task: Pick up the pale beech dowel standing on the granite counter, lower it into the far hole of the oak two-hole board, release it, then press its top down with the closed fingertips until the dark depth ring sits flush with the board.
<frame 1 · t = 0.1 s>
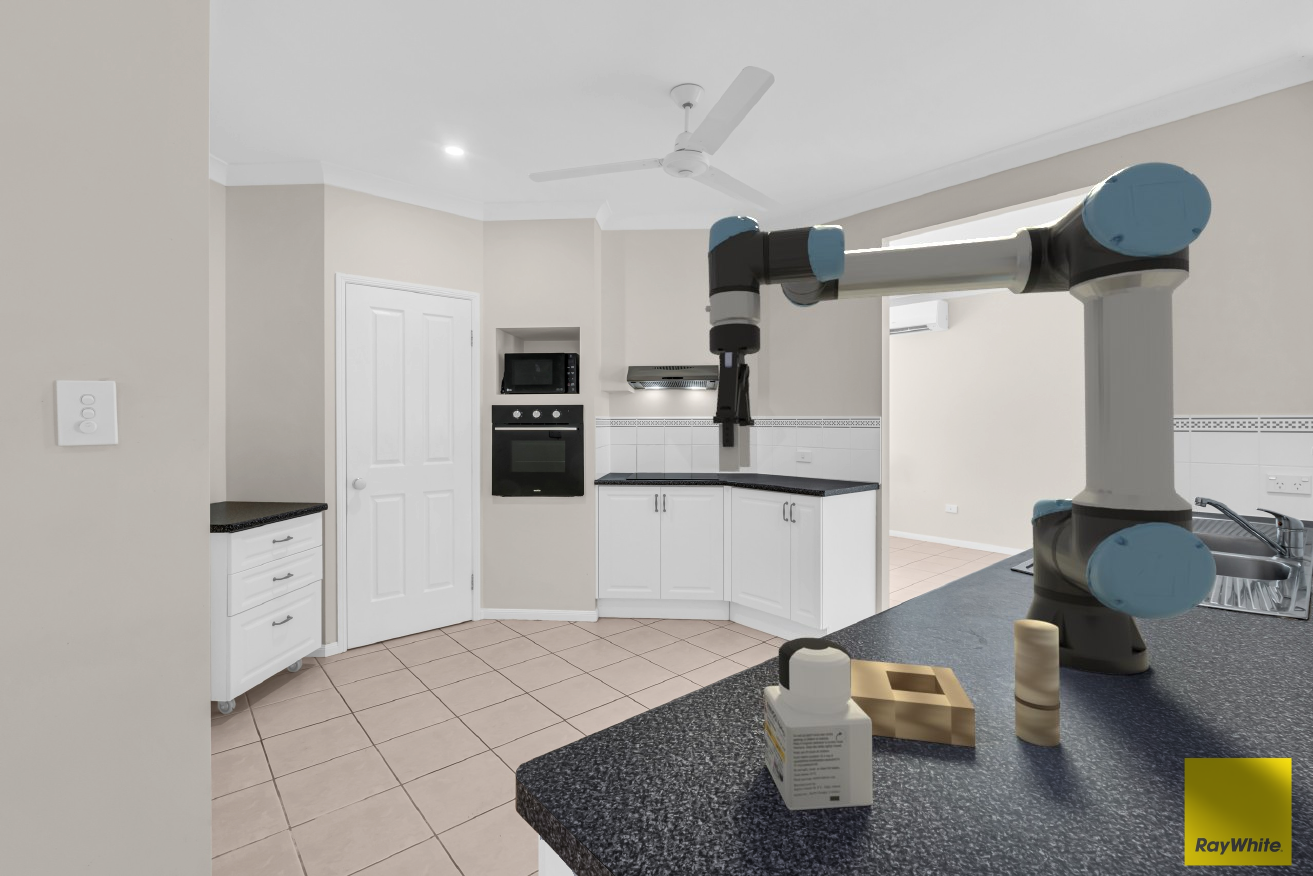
hand: (735, 469, 85), 28 cm above the countertop, fingers open, 13 cm apart
peg: (1037, 736, 62), on the countertop
container: (815, 785, 54), on the countertop
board: (868, 711, 68), on the countertop
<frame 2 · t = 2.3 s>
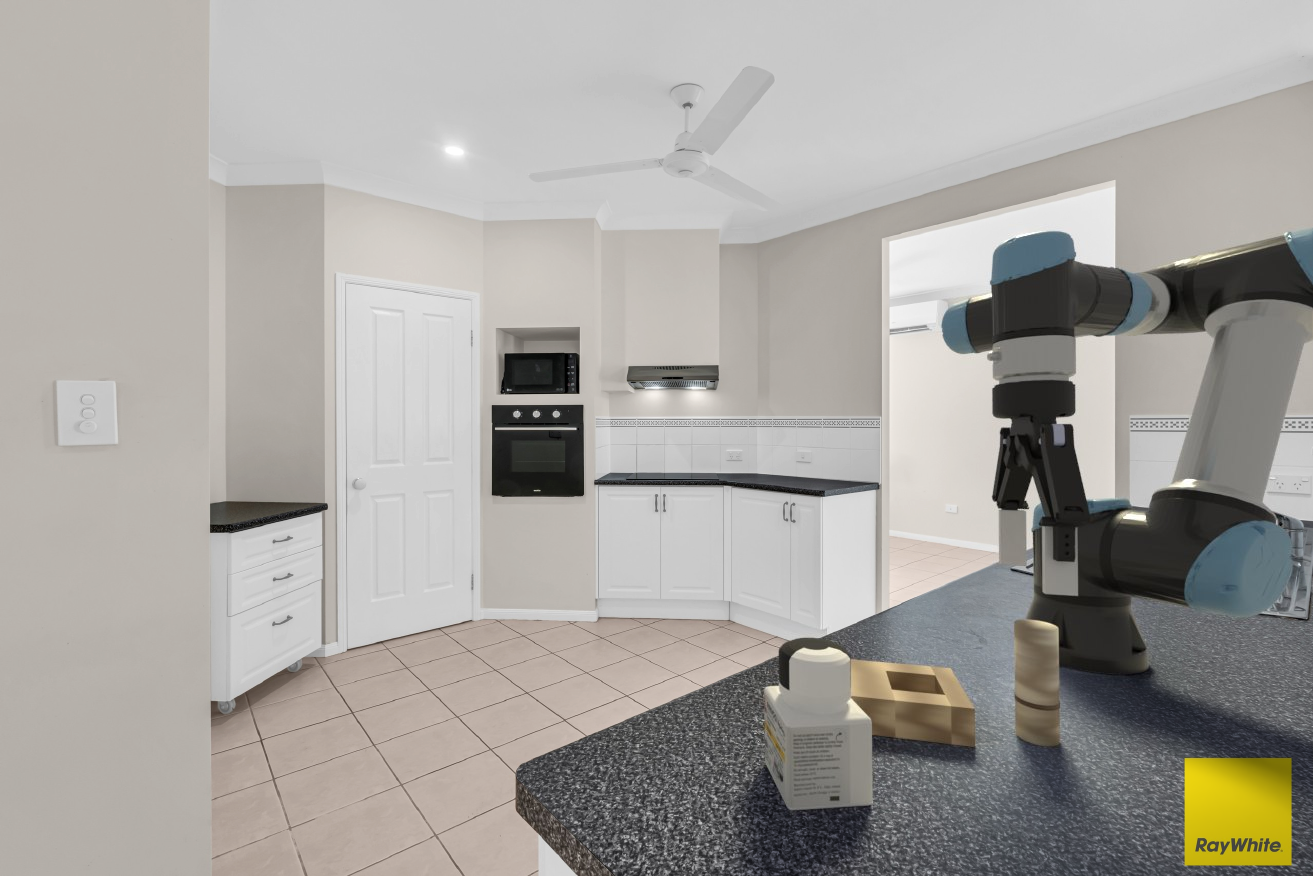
hand: (1033, 578, 62), 17 cm above the countertop, fingers open, 13 cm apart
nothing on the countertop moved.
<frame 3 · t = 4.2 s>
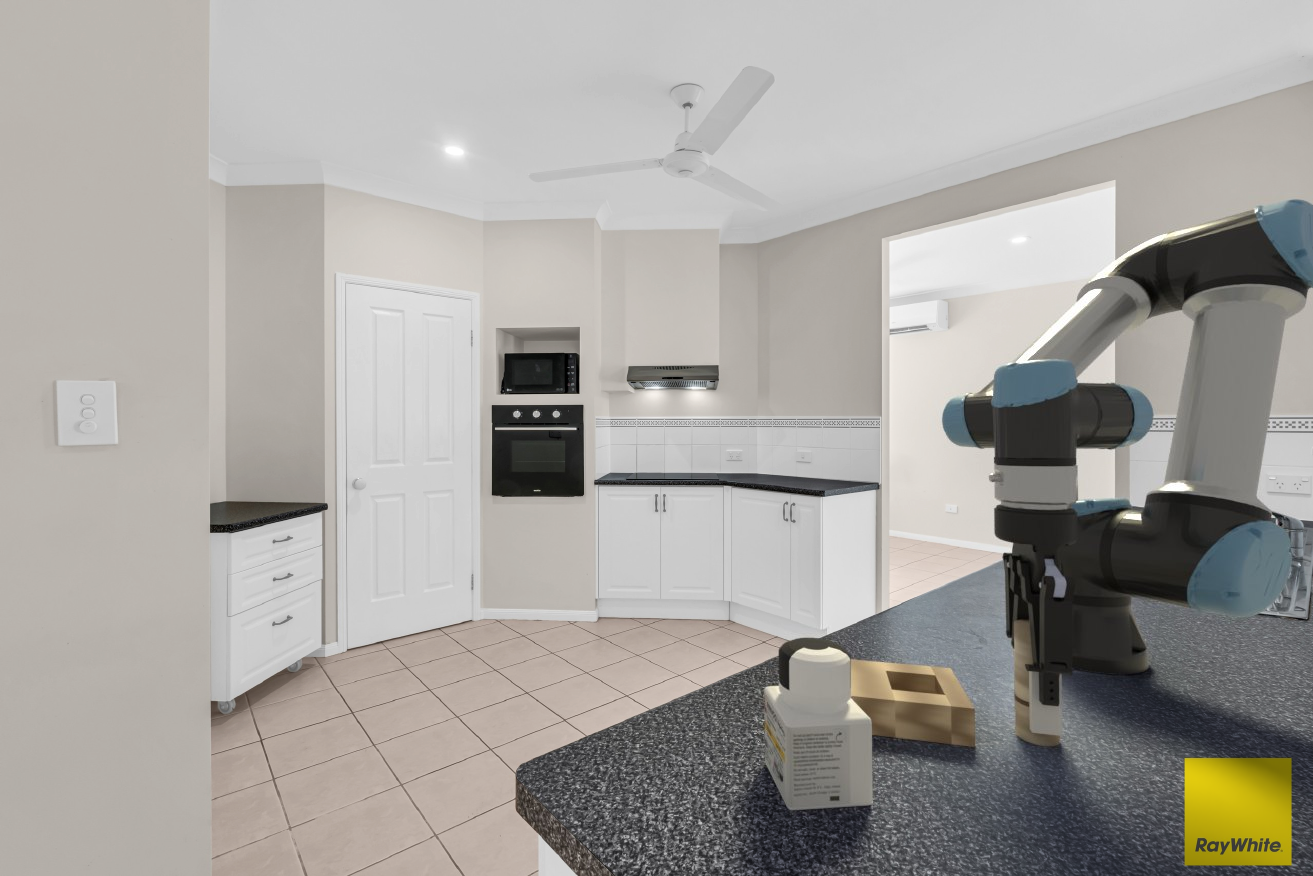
hand: (1037, 721, 62), 2 cm above the countertop, fingers closed on peg, 4 cm apart
peg: (1037, 736, 62), on the countertop, touching gripper
everything else where it was.
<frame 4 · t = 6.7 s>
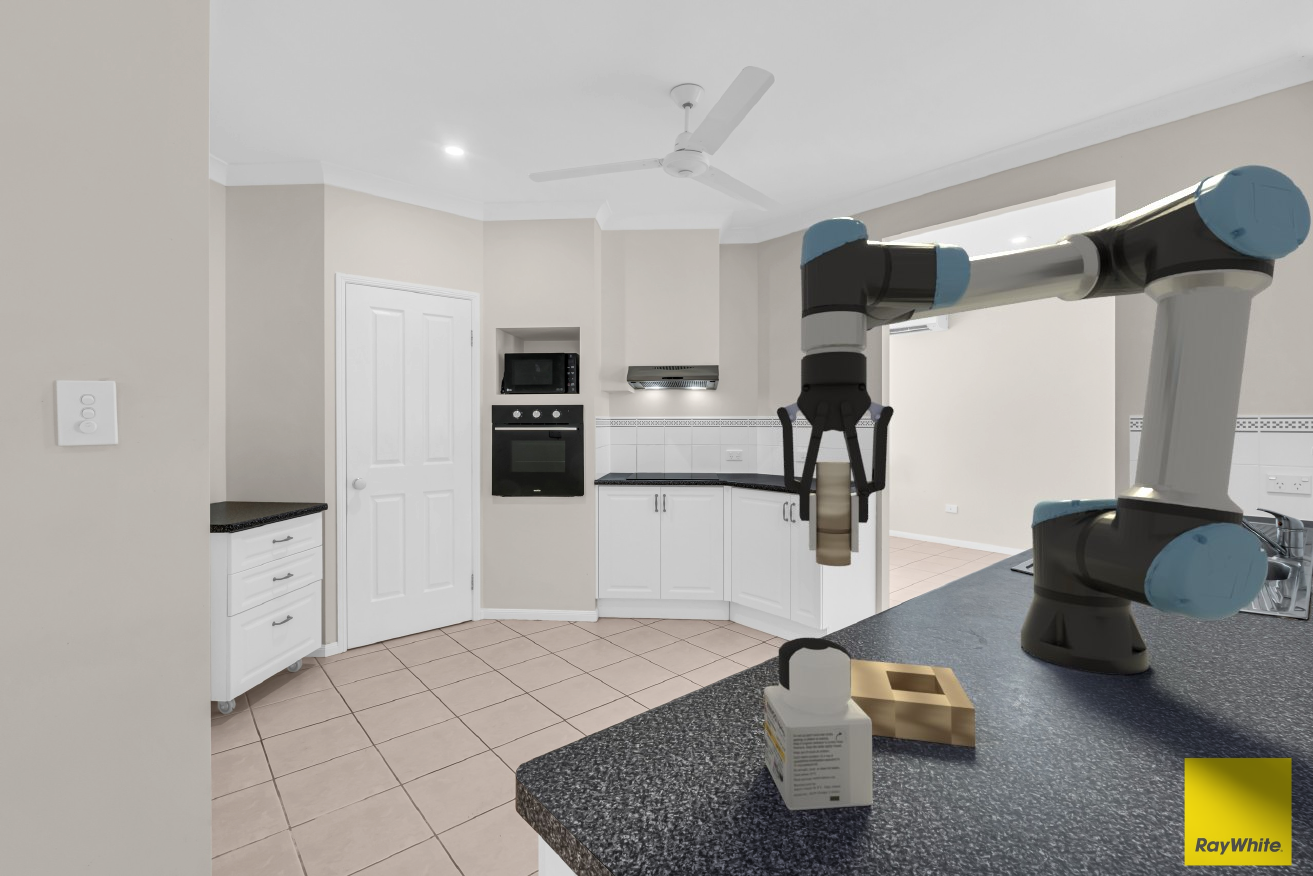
hand: (833, 548, 68), 19 cm above the countertop, fingers closed on peg, 4 cm apart
peg: (833, 562, 68), point 17 cm above the countertop, touching gripper
everything else where it was.
when the fingers open (5 cm above the countertop, at t = 9.1 s): peg drops 3 cm, resting in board.
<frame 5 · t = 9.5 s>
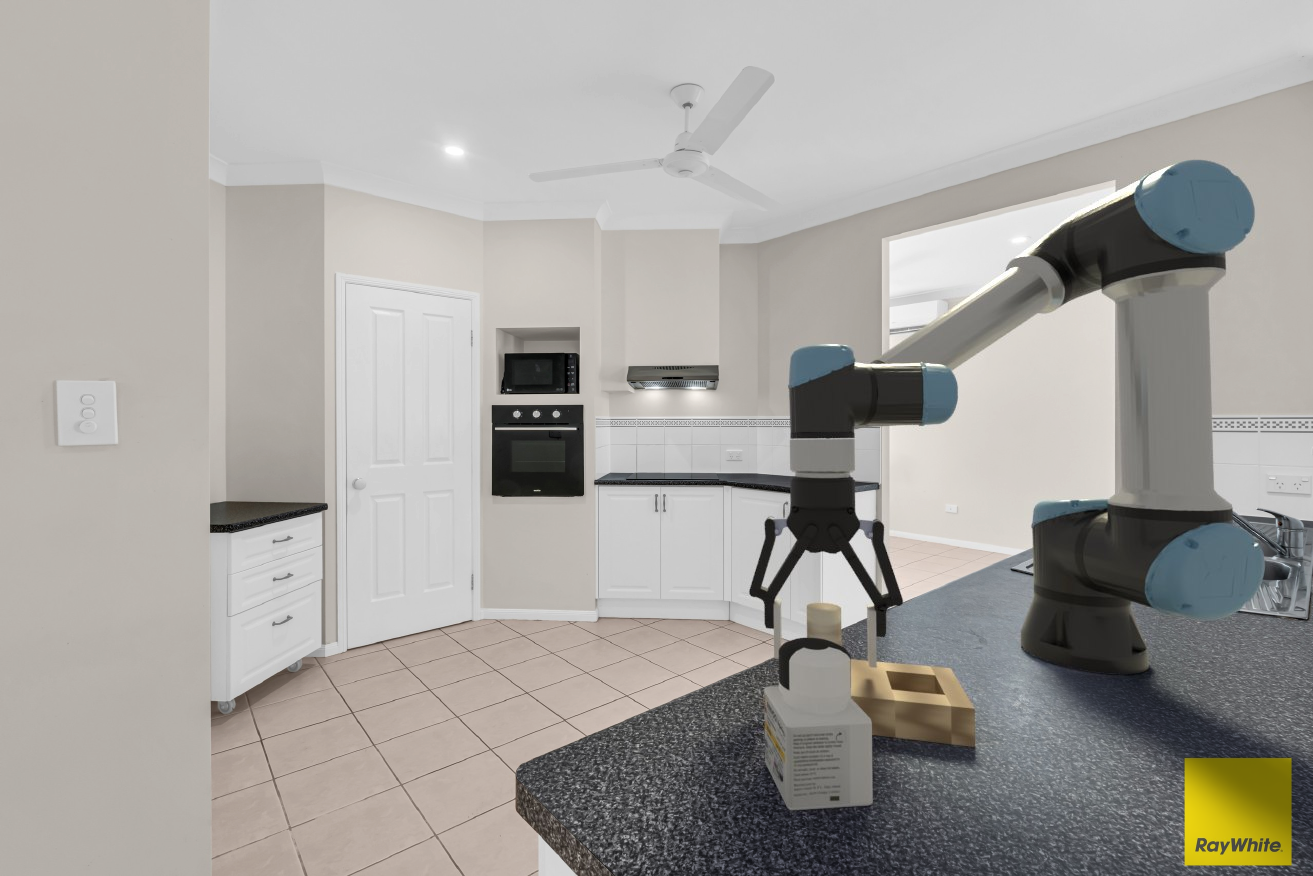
hand: (824, 658, 69), 6 cm above the countertop, fingers open, 10 cm apart
peg: (824, 707, 69), resting in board
everything else where it was.
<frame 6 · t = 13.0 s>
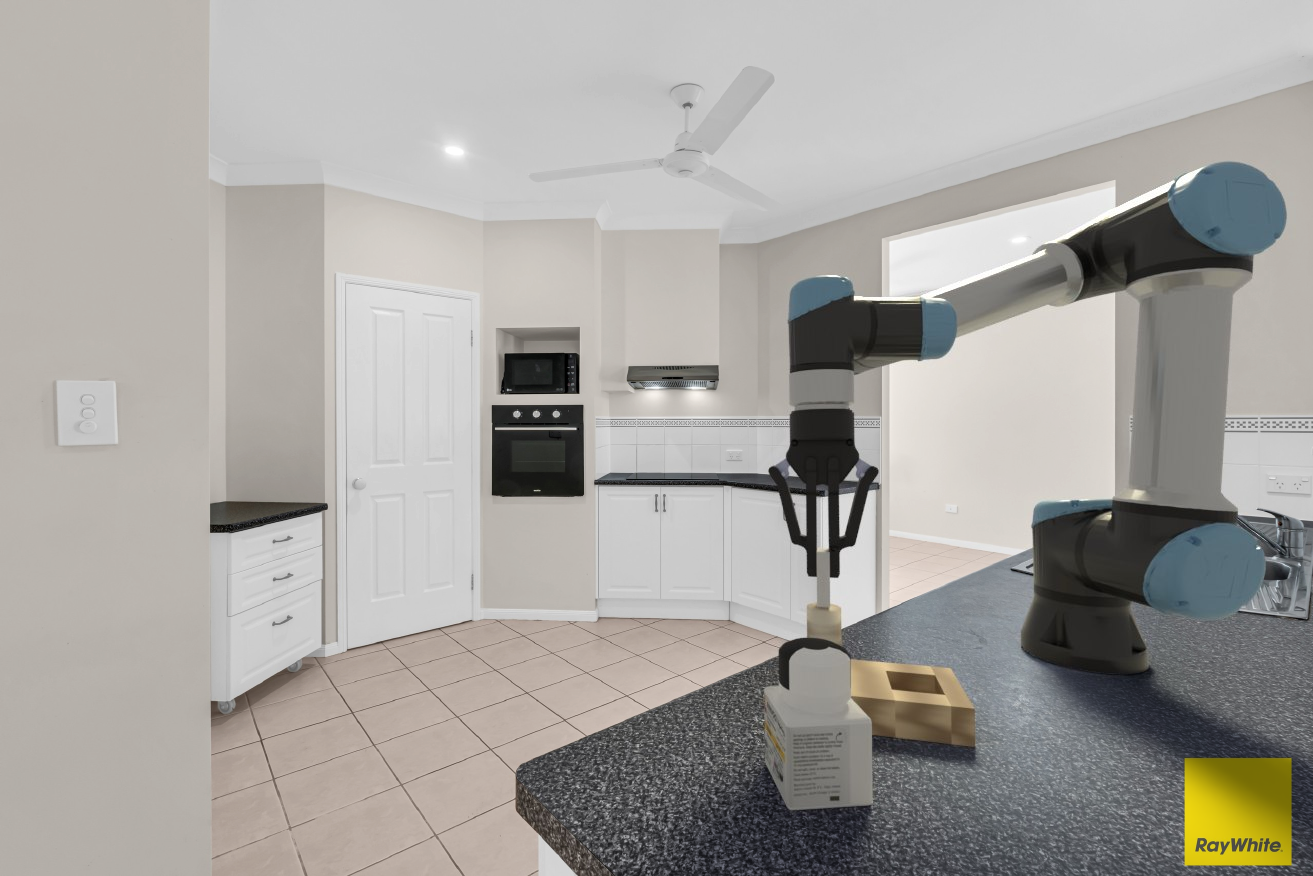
hand: (823, 603, 69), 12 cm above the countertop, fingers closed
nothing on the countertop moved.
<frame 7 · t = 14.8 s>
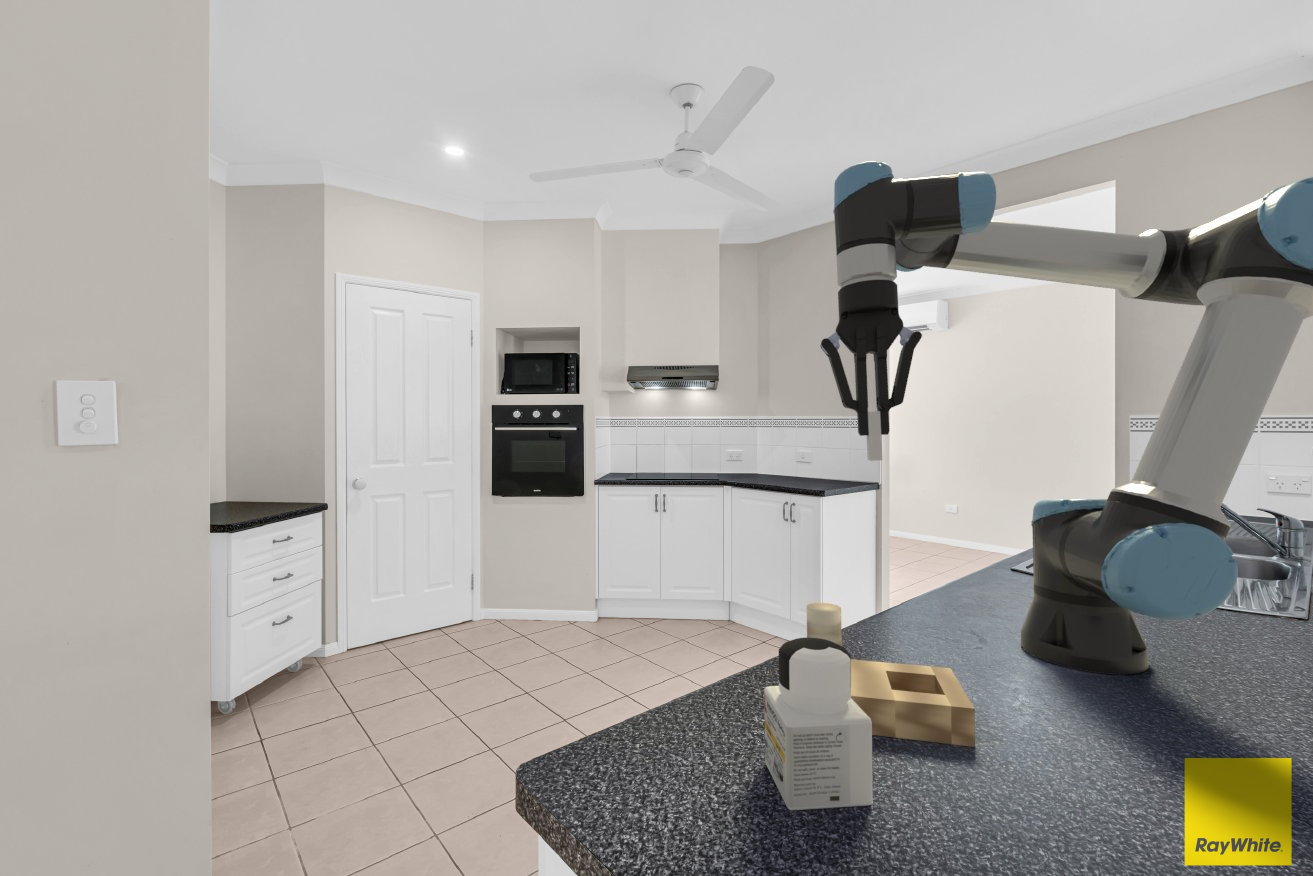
hand: (874, 460, 77), 29 cm above the countertop, fingers closed
nothing on the countertop moved.
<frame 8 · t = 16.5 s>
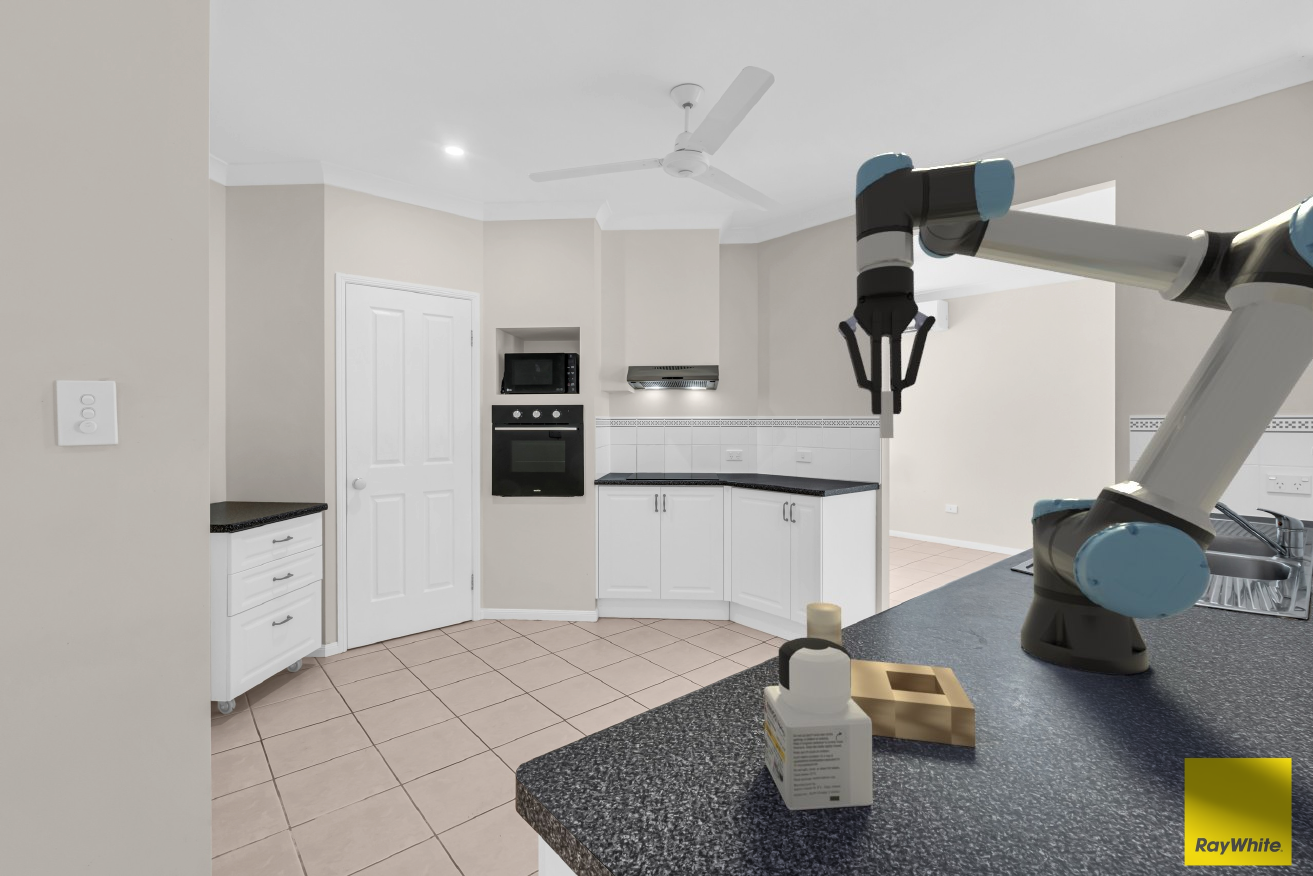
hand: (886, 437, 81), 32 cm above the countertop, fingers closed
nothing on the countertop moved.
at the end: peg 0.0 cm from the target spot on the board, point 0.0 cm above the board's base; peg tilted 0°; the gripper is holding nothing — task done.
